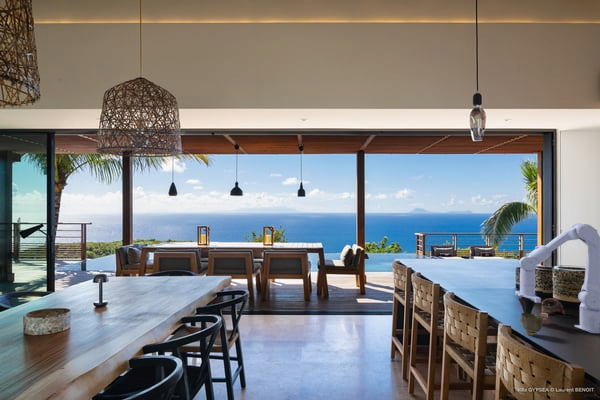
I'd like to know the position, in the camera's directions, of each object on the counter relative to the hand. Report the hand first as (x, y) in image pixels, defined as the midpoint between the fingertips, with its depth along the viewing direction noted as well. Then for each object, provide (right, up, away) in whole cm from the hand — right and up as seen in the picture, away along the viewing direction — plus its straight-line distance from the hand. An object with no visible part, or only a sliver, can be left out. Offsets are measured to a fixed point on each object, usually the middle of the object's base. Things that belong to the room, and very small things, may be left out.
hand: (527, 315), depth 167 cm
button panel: (+4, -3, 0) cm, 5 cm away
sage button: (+4, -2, 0) cm, 4 cm away
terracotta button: (+8, -1, 0) cm, 8 cm away
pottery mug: (+22, -4, +16) cm, 28 cm away
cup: (-8, -3, -17) cm, 19 cm away
